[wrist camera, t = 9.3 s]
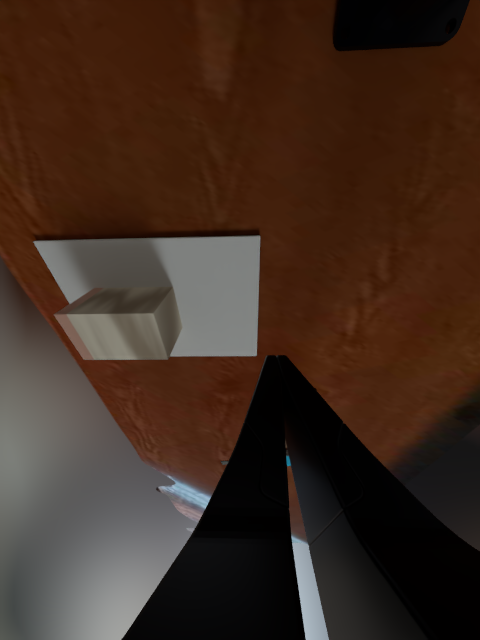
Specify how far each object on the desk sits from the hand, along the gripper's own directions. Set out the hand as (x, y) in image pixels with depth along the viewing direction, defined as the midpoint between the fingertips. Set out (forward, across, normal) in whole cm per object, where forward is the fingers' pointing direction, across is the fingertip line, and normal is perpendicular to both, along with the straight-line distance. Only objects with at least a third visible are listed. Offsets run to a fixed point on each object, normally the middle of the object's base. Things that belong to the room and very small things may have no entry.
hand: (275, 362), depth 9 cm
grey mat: (+12, +10, +4) cm, 16 cm away
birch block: (+9, +8, +4) cm, 13 cm away
